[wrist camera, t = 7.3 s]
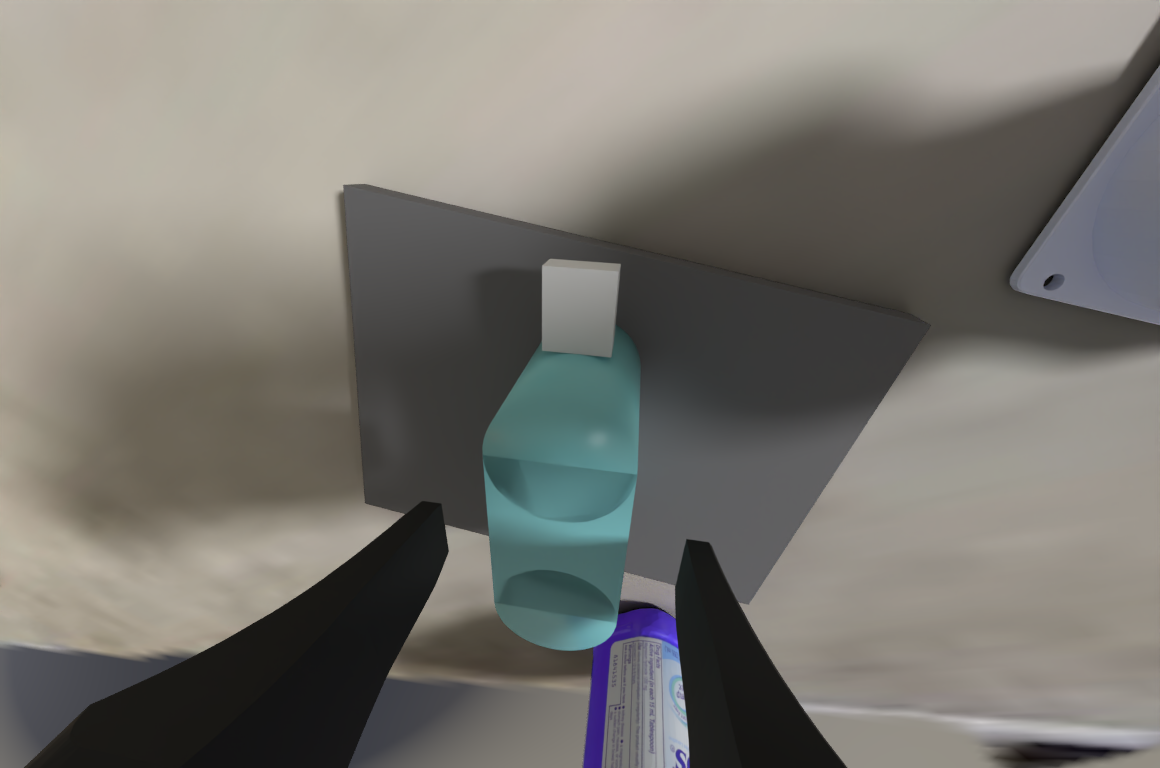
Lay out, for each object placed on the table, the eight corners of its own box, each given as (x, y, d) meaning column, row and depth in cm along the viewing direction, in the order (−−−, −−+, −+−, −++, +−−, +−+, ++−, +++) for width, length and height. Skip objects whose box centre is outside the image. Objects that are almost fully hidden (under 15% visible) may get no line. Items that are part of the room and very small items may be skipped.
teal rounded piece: (655, 251, 13) (661, 301, 8) (621, 525, 19) (611, 659, 14) (536, 242, 14) (468, 285, 9) (537, 513, 20) (497, 639, 14)
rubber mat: (910, 313, 14) (930, 325, 13) (743, 583, 21) (748, 604, 20) (364, 184, 15) (343, 185, 14) (378, 487, 22) (365, 503, 21)
